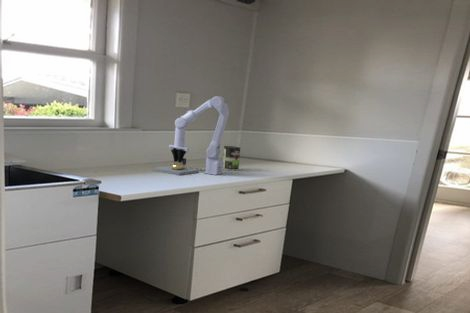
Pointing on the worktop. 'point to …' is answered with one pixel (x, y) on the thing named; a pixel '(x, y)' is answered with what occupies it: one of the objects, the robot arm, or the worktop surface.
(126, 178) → the worktop surface
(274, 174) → the worktop surface
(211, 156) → the robot arm
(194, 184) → the worktop surface
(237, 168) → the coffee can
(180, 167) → the spiked mace toy
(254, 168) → the worktop surface
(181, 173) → the grey board
